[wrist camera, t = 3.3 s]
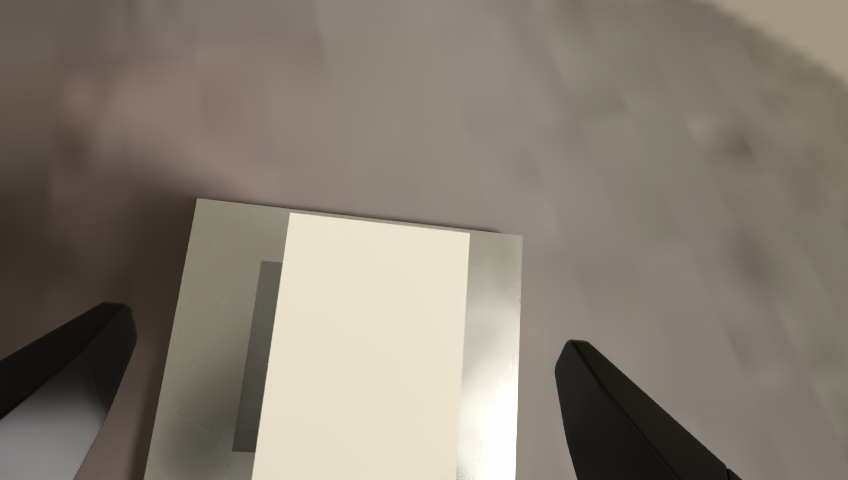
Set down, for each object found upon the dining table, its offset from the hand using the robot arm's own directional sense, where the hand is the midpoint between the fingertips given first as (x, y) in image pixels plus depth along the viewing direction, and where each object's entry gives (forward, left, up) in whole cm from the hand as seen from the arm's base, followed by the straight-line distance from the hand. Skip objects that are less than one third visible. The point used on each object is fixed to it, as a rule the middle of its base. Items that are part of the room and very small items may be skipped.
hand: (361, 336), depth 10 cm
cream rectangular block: (-1, 0, -7) cm, 7 cm away
